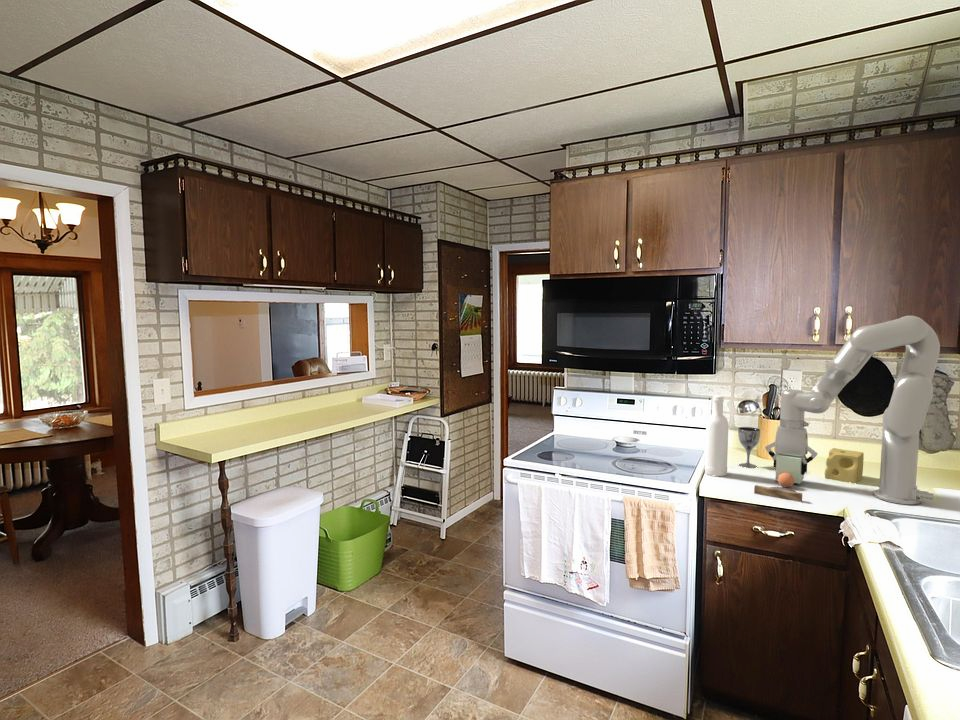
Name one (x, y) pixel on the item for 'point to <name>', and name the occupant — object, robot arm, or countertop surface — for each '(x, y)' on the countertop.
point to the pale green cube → (789, 467)
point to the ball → (785, 480)
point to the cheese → (844, 465)
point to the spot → (783, 488)
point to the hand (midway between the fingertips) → (789, 471)
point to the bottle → (716, 440)
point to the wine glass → (748, 442)
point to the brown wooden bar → (778, 493)
